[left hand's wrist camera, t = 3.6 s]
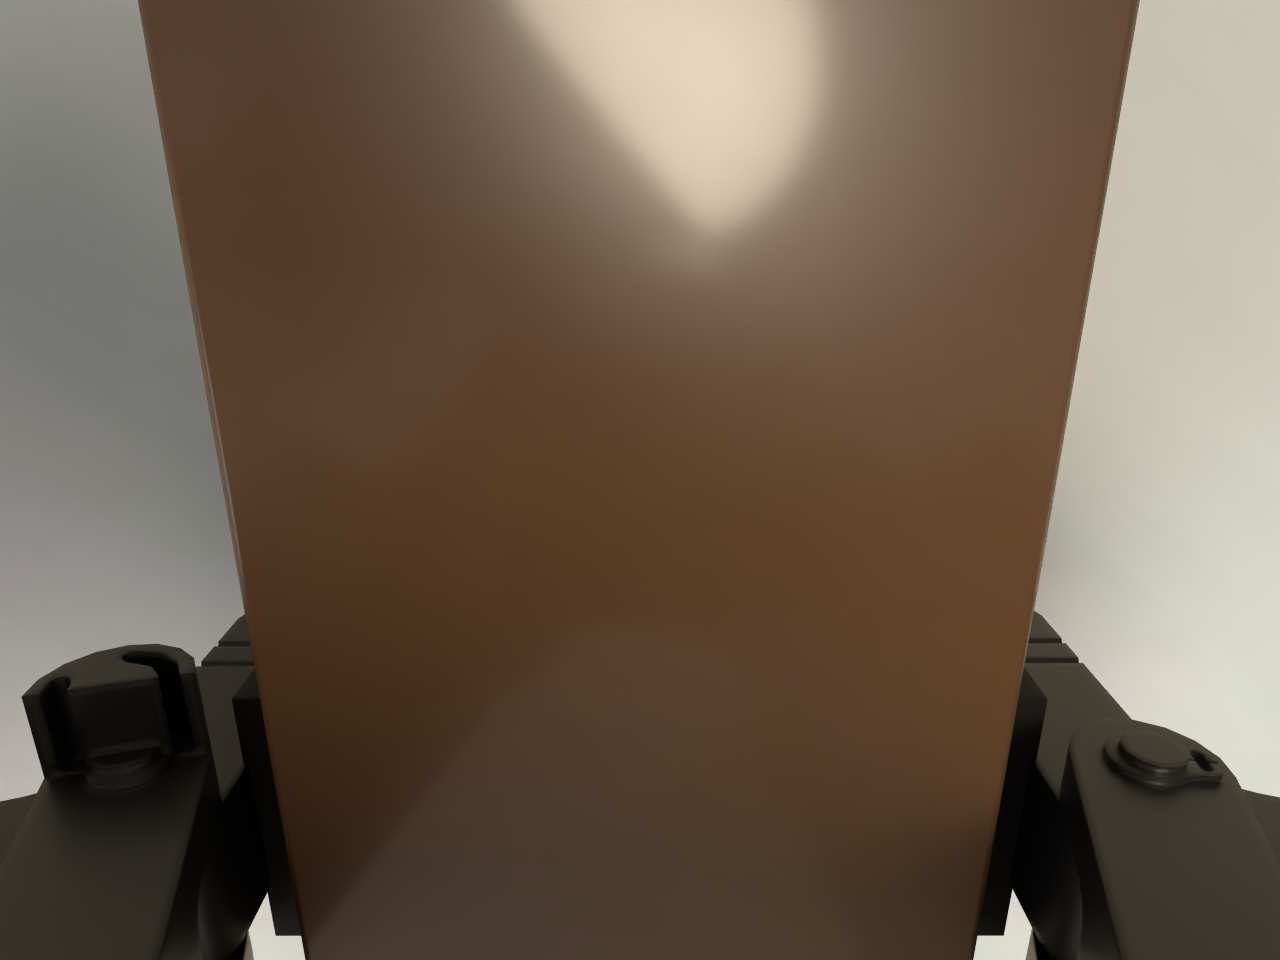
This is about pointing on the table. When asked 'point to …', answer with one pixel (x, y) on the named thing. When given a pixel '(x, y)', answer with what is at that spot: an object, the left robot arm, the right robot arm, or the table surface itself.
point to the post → (639, 447)
